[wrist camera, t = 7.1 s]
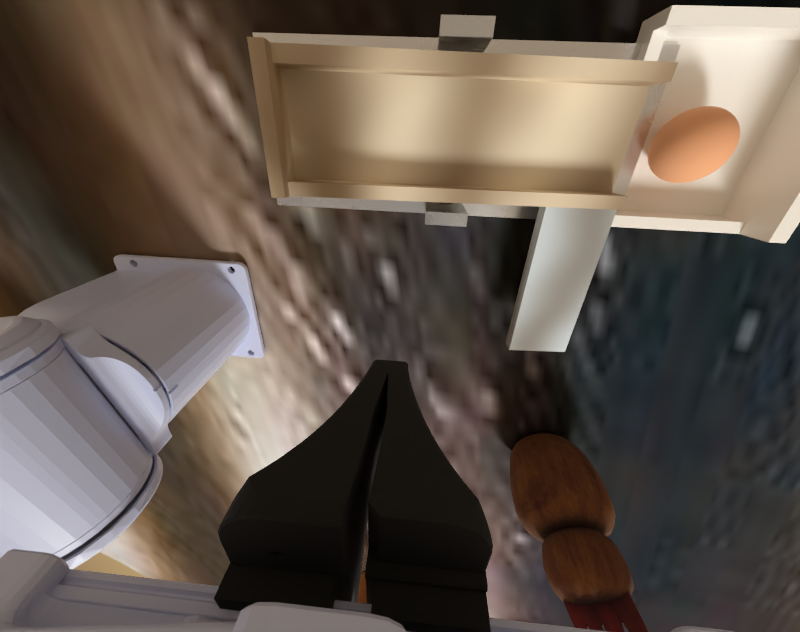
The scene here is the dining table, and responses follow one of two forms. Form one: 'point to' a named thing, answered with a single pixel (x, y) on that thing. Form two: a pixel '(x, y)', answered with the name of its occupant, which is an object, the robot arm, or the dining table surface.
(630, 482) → the dining table surface
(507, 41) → the stand
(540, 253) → the beige tray
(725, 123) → the brown egg
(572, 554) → the wooden figurine
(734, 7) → the dish
